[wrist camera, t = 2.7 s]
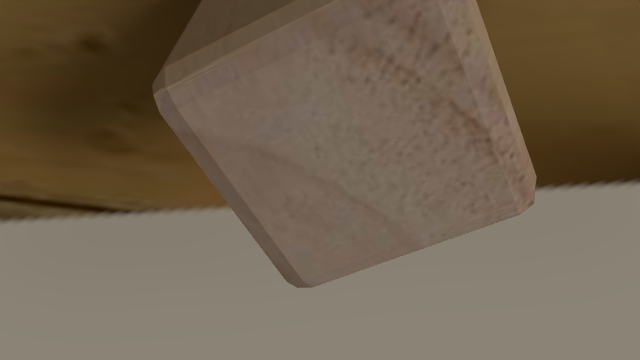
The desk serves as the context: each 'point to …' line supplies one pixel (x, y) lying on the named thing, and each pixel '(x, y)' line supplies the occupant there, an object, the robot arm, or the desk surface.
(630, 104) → the desk surface
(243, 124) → the wooden block
